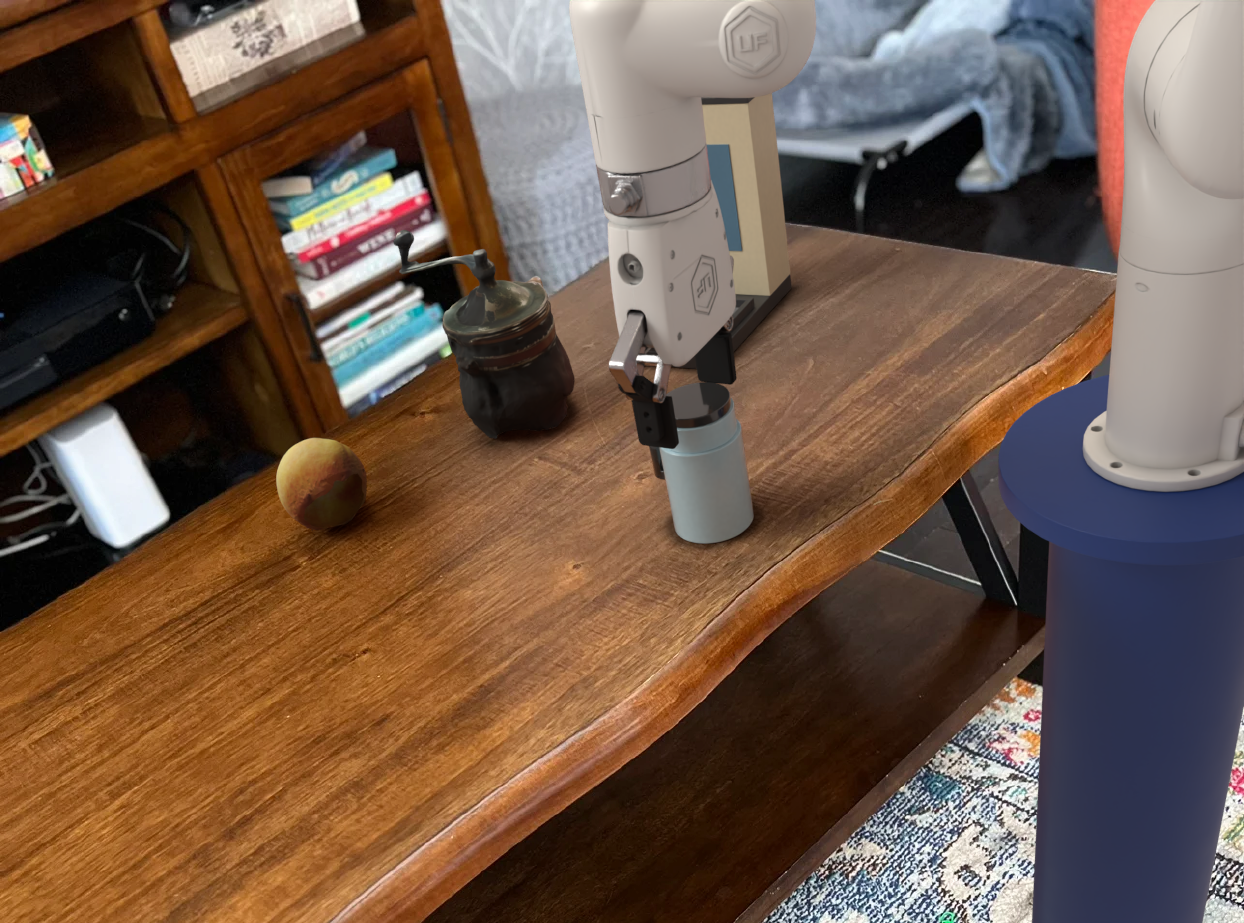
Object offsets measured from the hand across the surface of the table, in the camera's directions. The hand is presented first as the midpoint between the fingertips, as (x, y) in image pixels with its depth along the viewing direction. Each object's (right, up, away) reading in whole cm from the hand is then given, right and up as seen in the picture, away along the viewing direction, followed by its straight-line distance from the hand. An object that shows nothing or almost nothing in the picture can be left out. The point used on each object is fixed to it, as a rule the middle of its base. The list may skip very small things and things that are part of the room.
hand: (689, 412), depth 99 cm
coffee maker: (+4, +20, +33) cm, 38 cm away
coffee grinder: (-16, +7, +26) cm, 31 cm away
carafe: (+2, -7, +7) cm, 10 cm away
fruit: (-31, -4, +19) cm, 37 cm away
